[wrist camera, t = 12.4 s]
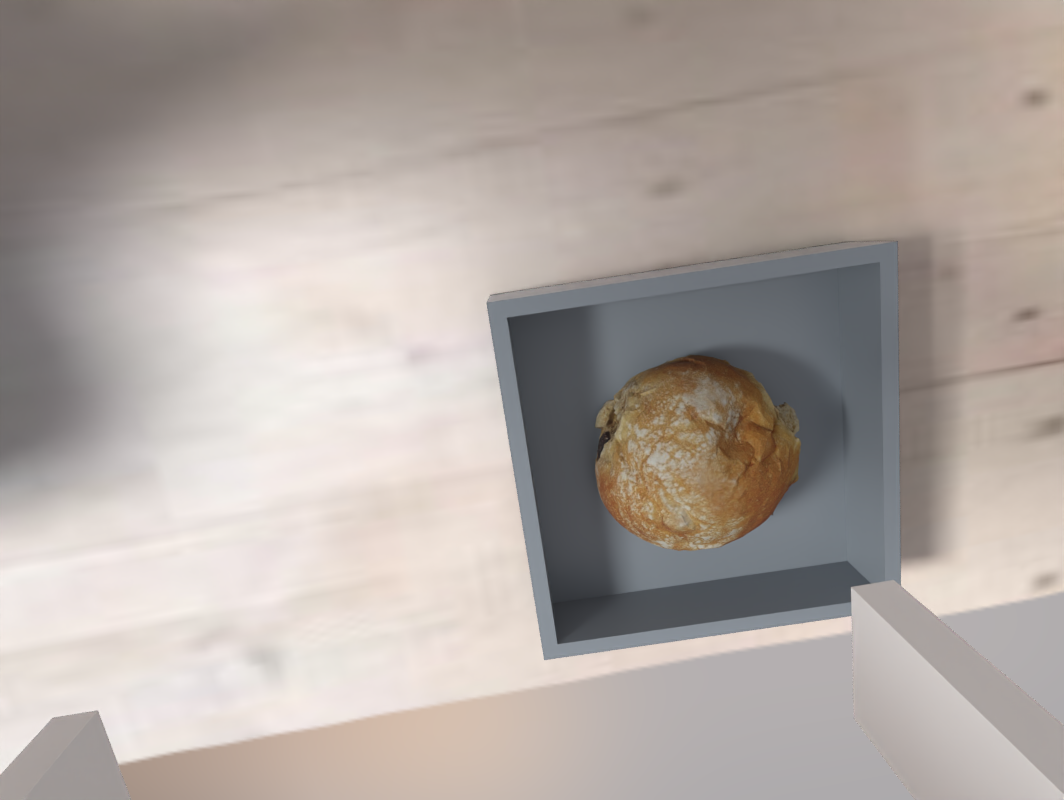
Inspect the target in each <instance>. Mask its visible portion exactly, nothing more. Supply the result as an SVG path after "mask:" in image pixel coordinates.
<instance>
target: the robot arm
mask: <svg viewBox="0 0 1064 800" xmlns="http://www.w3.org/2000/svg"><path fill="white" fill-rule="evenodd" d="M851 613H852V653H853V654H852V655H853V656H852V658H853V699H854V700H853V702H854V719H855V721H856V722H857V723H858V725H859V726H860V727H861V729H862V730H863V731H864V733H865V734H866V735H867V737H868V738H869V739H870V741H871V742H872V743H873V744H874V746H875V747H876V749H877V750H878V751H879V752H880V754H881V755H882V757H883V758H884V759H885V760H886V762H887V763H888V765H889V766H890V767H891V769H892V770H893V771H894V773H895V774H896V775H897V777H898V778H899V779H900V781H901V782H902V783H903V785H904V786H905V787H906V789H907V790H908V791H909V792H910V794H911V795H912V797H913V798H914V799H915V800H1064V725H1063V724H1062V723H1061V722H1060V721H1058V720H1057V719H1056V718H1055V717H1054V716H1053V715H1051V714H1050V713H1049V712H1048V711H1047V710H1046V709H1045V708H1043V707H1042V706H1041V705H1040V704H1039V703H1037V702H1036V701H1035V700H1034V699H1033V698H1031V697H1030V696H1029V695H1028V694H1027V693H1026V692H1025V691H1023V690H1022V689H1021V688H1020V687H1019V686H1017V685H1016V684H1015V683H1014V682H1013V681H1012V680H1011V679H1009V678H1008V677H1007V676H1006V675H1005V674H1003V673H1002V672H1001V671H1000V670H999V669H998V668H996V667H995V666H994V665H993V664H992V663H991V662H989V661H988V660H987V659H986V658H984V657H983V656H982V655H981V654H980V653H979V652H977V651H976V650H975V649H974V648H973V647H972V646H971V645H969V644H968V643H967V642H966V641H965V640H964V639H962V638H961V637H960V636H959V635H958V634H956V633H955V632H954V631H953V630H952V629H951V628H950V627H948V626H947V625H946V624H945V623H944V622H942V621H941V620H940V619H939V618H938V617H937V616H935V615H934V614H933V613H932V612H931V611H930V610H928V609H927V608H926V607H925V606H924V605H923V604H921V603H920V602H919V601H918V600H917V599H915V598H914V597H913V596H912V595H911V594H910V593H908V592H907V591H906V590H905V589H904V588H903V587H901V586H900V585H899V584H898V583H897V582H896V581H894V580H890V581H884V582H878V583H872V584H866V585H860V586H854V587H851ZM0 800H131V798H130V795H129V792H128V790H127V787H126V784H125V782H124V779H123V776H122V774H121V771H120V768H119V766H118V763H117V760H116V758H115V755H114V752H113V750H112V747H111V744H110V742H109V739H108V736H107V734H106V731H105V728H104V726H103V723H102V720H101V718H100V715H99V712H98V711H92V712H86V713H80V714H74V715H67V716H61V717H55V718H52V719H51V720H50V721H49V723H48V724H47V725H46V726H45V727H44V728H43V729H42V730H41V731H40V732H39V733H38V735H37V736H36V737H35V738H34V739H33V740H32V741H31V742H30V743H29V744H28V745H27V746H26V748H25V749H24V750H23V751H22V752H21V753H20V754H19V755H18V756H17V757H16V758H15V760H14V761H13V762H12V763H11V764H10V765H9V766H8V767H7V768H6V769H5V770H4V772H3V773H2V774H1V775H0Z"/></svg>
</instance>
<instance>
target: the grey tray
mask: <svg viewBox="0 0 1064 800" xmlns="http://www.w3.org/2000/svg"><path fill="white" fill-rule="evenodd" d="M487 308H488V315H489V321H490V327H491V333H492V339H493V346H494V352H495V358H496V364H497V370H498V377H499V383H500V389H501V395H502V401H503V408H504V414H505V420H506V426H507V432H508V439H509V445H510V451H511V457H512V463H513V469H514V476H515V482H516V488H517V494H518V500H519V507H520V513H521V519H522V525H523V531H524V538H525V544H526V550H527V556H528V562H529V569H530V575H531V581H532V587H533V593H534V599H535V606H536V612H537V618H538V624H539V630H540V637H541V643H542V649H543V655H544V660H548V659H555V658H562V657H569V656H576V655H583V654H590V653H597V652H604V651H610V650H617V649H624V648H631V647H638V646H645V645H652V644H659V643H666V642H673V641H680V640H687V639H694V638H701V637H708V636H715V635H722V634H729V633H736V632H743V631H750V630H757V629H764V628H771V627H778V626H785V625H792V624H799V623H806V622H813V621H820V620H827V619H834V618H841V617H847V616H852V613H851V587H854V586H860V585H866V584H872V583H878V582H884V581H890V580H894V581H896V582H897V583H898V584H899V585H900V586H901V552H900V443H899V334H898V241H871V242H842V243H835V244H828V245H822V246H815V247H808V248H802V249H795V250H788V251H782V252H775V253H768V254H761V255H755V256H748V257H741V258H735V259H728V260H721V261H715V262H708V263H701V264H694V265H688V266H681V267H674V268H668V269H661V270H654V271H648V272H641V273H634V274H628V275H621V276H614V277H607V278H601V279H594V280H587V281H581V282H574V283H567V284H561V285H554V286H547V287H541V288H534V289H527V290H520V291H514V292H507V293H500V294H494V295H490V297H489V299H488V301H487ZM688 355H702V356H708V357H714V358H717V359H721V360H726V361H728V362H729V364H730V365H732V366H734V367H736V368H740V369H743V370H746V371H749V372H752V374H753V375H754V377H755V379H756V380H757V381H758V382H761V383H762V385H763V387H764V388H765V390H766V392H767V393H768V395H769V396H770V398H771V400H772V403H773V405H775V406H779V405H781V404H784V402H786V403H787V404H788V405H789V406H790V407H792V408H793V409H794V410H795V413H796V416H797V418H798V420H799V431H798V432H797V433H796V434H795V435H794V436H795V437H797V438H799V440H800V441H801V446H800V448H801V450H800V454H799V468H798V477H799V479H798V481H796V482H795V483H794V484H792V485H791V486H790V487H789V489H788V491H786V493H785V494H784V496H783V497H782V499H781V501H780V502H779V504H778V505H777V507H776V509H775V510H774V512H773V515H770V517H769V518H768V519H767V520H766V521H765V522H764V523H762V524H761V525H760V526H758V527H757V528H756V529H754V530H752V531H751V532H749V533H748V534H746V535H745V536H743V537H742V538H740V539H737V540H735V541H732V542H730V543H728V544H726V545H724V546H722V547H719V548H710V549H700V550H694V551H687V550H682V551H678V550H673V549H666V548H662V547H658V546H656V545H654V544H651V543H649V542H647V541H645V540H642V539H640V538H639V537H637V536H636V535H634V534H632V533H630V532H629V531H628V530H626V529H625V528H624V527H623V526H622V525H620V524H619V523H618V522H617V521H616V520H615V519H614V518H613V516H612V515H611V514H610V513H609V511H608V510H607V508H606V507H605V505H604V504H603V502H602V500H601V498H600V494H599V491H598V487H597V479H596V473H595V463H596V458H597V449H598V444H599V437H600V434H601V429H599V428H595V423H596V417H597V415H598V413H599V411H600V410H601V408H602V407H603V405H604V403H605V402H606V401H608V400H614V395H615V394H616V393H617V392H618V391H619V390H620V389H622V387H623V386H624V385H625V384H626V383H627V381H628V380H629V379H630V378H632V377H634V376H635V375H637V374H639V373H640V372H643V371H645V370H648V369H650V368H654V367H657V366H659V365H661V364H663V363H665V362H666V361H671V360H674V359H677V358H681V357H686V356H688Z"/></svg>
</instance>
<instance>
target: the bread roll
mask: <svg viewBox="0 0 1064 800" xmlns="http://www.w3.org/2000/svg"><path fill="white" fill-rule="evenodd" d="M595 428H599V429H601V434H600V437H599V444H598V449H597V458H596V463H595V473H596V479H597V487H598V491H599V494H600V498H601V500H602V502H603V504H604V505H605V507H606V508H607V510H608V511H609V513H610V514H611V515H612V516H613V518H614V519H615V520H616V521H617V522H618V523H619V524H620V525H622V526H623V527H624V528H625V529H626V530H628V531H629V532H630V533H632V534H634V535H636V536H637V537H639V538H640V539H642V540H645V541H647V542H649V543H651V544H654V545H656V546H658V547H662V548H666V549H673V550H678V551H682V550H687V551H694V550H700V549H710V548H719V547H722V546H724V545H726V544H728V543H730V542H732V541H735V540H737V539H740V538H742V537H743V536H745V535H746V534H748V533H749V532H751V531H752V530H754V529H756V528H757V527H758V526H760V525H761V524H762V523H764V522H765V521H766V520H767V519H768V518H769V517H770V515H773V512H774V510H775V509H776V507H777V505H778V504H779V502H780V501H781V499H782V497H783V496H784V494H785V493H786V491H788V489H789V487H790V486H791V485H792V484H794V483H795V482H796V481H798V479H799V477H798V468H799V454H800V450H801V448H800V446H801V441H800V440H799V438H797V437H795V436H794V435H795V434H796V433H797V432H798V431H799V420H798V418H797V416H796V413H795V410H794V409H793V408H792V407H790V406H789V405H788V404H787V403H786V402H784V404H781V405H779V406H775V405H773V403H772V400H771V398H770V396H769V395H768V393H767V392H766V390H765V388H764V387H763V385H762V383H761V382H758V381H757V380H756V379H755V377H754V375H753V374H752V372H749V371H746V370H743V369H740V368H736V367H734V366H732V365H730V364H729V362H728V361H726V360H721V359H717V358H714V357H708V356H702V355H688V356H686V357H681V358H677V359H674V360H671V361H666V362H665V363H663V364H661V365H659V366H657V367H654V368H650V369H648V370H645V371H643V372H640V373H639V374H637V375H635V376H634V377H632V378H630V379H629V380H628V381H627V383H626V384H625V385H624V386H623V387H622V389H620V390H619V391H618V392H617V393H616V394H615V395H614V400H608V401H606V402H605V403H604V405H603V407H602V408H601V410H600V411H599V413H598V415H597V417H596V423H595Z"/></svg>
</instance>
